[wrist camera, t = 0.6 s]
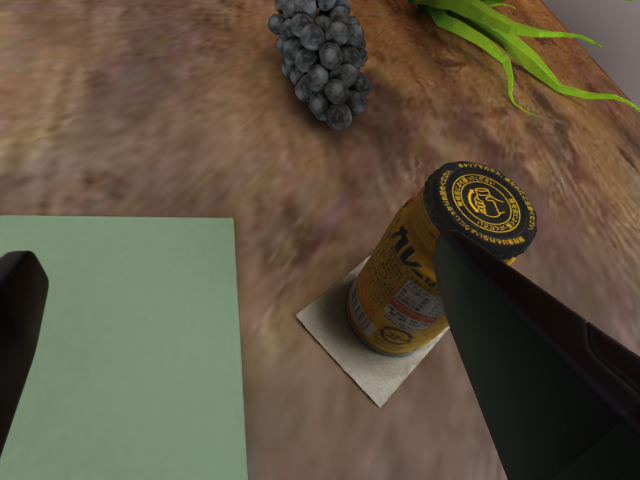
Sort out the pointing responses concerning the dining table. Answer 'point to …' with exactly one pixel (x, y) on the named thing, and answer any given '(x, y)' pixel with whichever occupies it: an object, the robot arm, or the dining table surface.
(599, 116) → the dining table surface
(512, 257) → the condiment
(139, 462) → the mat
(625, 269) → the dining table surface
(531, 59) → the decorative plant
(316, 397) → the dining table surface
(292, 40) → the fruit
